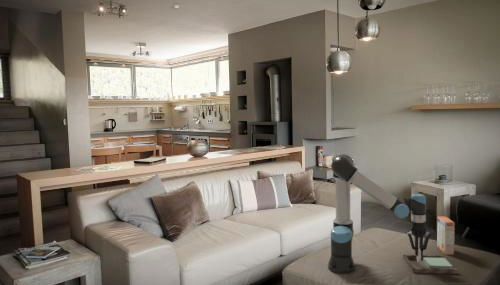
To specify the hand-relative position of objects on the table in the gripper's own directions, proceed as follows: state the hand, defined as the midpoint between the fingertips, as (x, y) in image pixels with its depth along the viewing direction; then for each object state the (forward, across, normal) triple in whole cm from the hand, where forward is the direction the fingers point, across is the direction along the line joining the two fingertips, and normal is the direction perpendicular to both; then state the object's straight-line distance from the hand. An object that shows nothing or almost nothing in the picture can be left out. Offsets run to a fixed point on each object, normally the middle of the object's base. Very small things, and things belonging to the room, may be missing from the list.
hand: (418, 261), depth 224 cm
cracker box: (+4, +24, +25) cm, 35 cm away
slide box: (+3, +6, 0) cm, 7 cm away
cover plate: (+3, +10, 0) cm, 11 cm away
